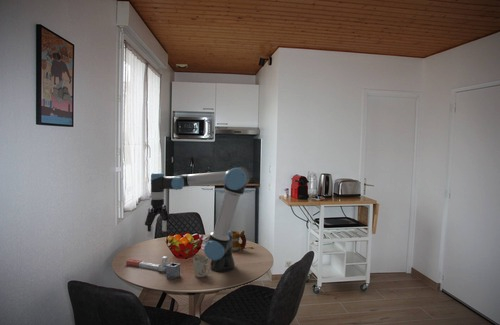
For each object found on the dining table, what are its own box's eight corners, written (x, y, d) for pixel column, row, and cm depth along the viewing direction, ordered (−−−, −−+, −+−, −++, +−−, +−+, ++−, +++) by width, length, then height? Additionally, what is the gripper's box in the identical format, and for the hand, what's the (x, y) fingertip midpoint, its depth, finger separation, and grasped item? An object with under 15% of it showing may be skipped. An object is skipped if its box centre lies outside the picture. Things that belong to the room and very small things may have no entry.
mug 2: (227, 246, 239) (228, 227, 238) (248, 249, 234) (248, 229, 233) (221, 251, 229) (222, 230, 228) (243, 254, 223) (244, 233, 223)
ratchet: (172, 269, 192) (172, 256, 192) (165, 273, 186) (166, 259, 185) (131, 262, 202) (131, 249, 202) (124, 266, 195) (124, 253, 195)
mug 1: (200, 271, 190) (200, 254, 190) (215, 277, 182) (215, 260, 182) (189, 275, 184) (190, 258, 183) (204, 281, 176) (204, 263, 175)
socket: (180, 275, 183) (180, 263, 183) (174, 279, 178) (174, 267, 177) (171, 274, 185) (171, 262, 184) (166, 277, 179) (166, 265, 179)
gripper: (164, 195, 203) (164, 228, 203) (138, 201, 179) (138, 238, 180) (174, 196, 200) (174, 229, 201) (149, 202, 177) (149, 239, 177)
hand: (157, 233), depth 190 cm, fingers open, 13 cm apart
